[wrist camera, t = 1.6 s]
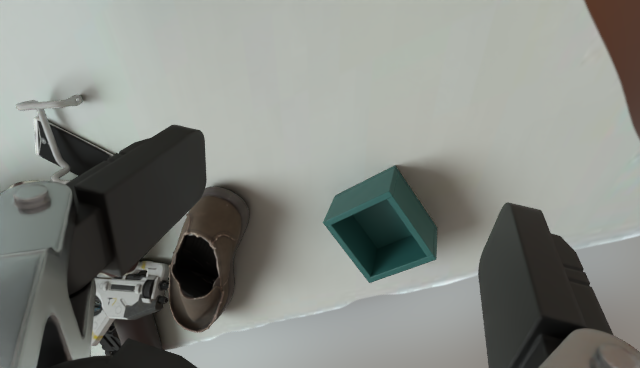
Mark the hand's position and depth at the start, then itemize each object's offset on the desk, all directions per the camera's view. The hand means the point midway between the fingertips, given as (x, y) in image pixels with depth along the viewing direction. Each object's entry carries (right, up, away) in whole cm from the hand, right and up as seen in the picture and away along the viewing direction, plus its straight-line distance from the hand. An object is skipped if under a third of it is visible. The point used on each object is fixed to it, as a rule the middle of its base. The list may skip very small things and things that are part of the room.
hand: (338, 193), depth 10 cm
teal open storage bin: (+8, -3, +43) cm, 43 cm away
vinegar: (-36, -22, +63) cm, 76 cm away
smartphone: (-33, +1, +52) cm, 62 cm away
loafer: (-19, -11, +56) cm, 60 cm away
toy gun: (-38, -28, +58) cm, 75 cm away
